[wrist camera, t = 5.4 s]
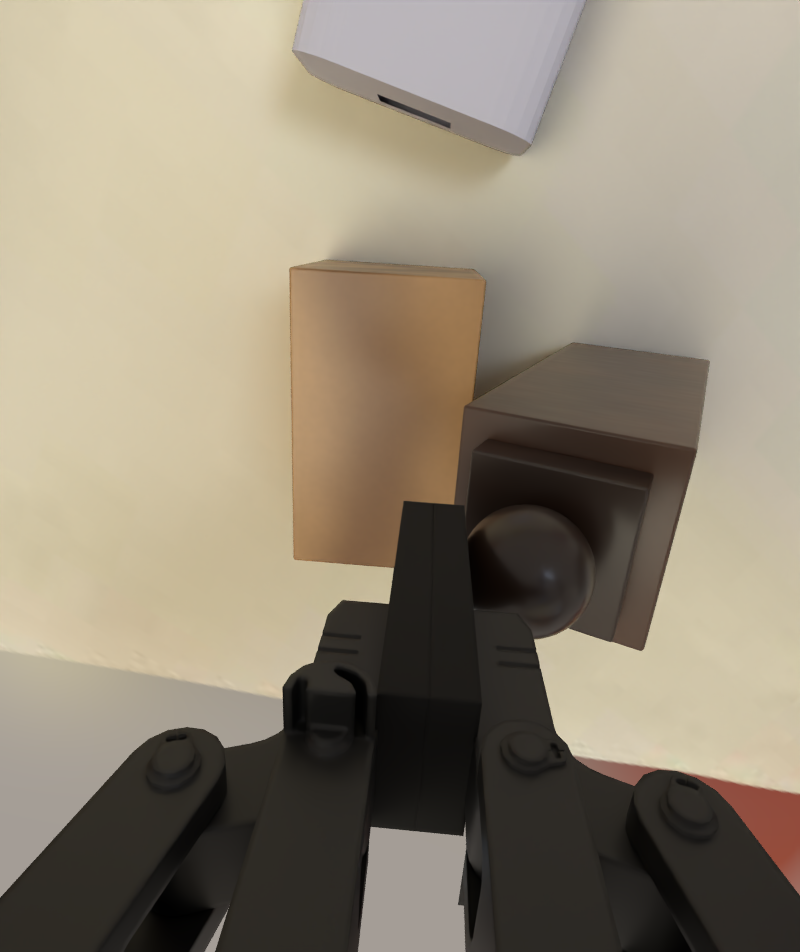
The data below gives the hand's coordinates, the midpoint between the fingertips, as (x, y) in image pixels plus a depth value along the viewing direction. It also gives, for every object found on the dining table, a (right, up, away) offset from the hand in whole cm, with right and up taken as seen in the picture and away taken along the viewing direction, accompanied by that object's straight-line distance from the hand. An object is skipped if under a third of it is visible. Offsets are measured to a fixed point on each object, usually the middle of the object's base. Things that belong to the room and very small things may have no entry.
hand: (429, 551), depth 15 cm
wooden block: (-1, +6, +15) cm, 16 cm away
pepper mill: (+5, +5, +14) cm, 16 cm away
